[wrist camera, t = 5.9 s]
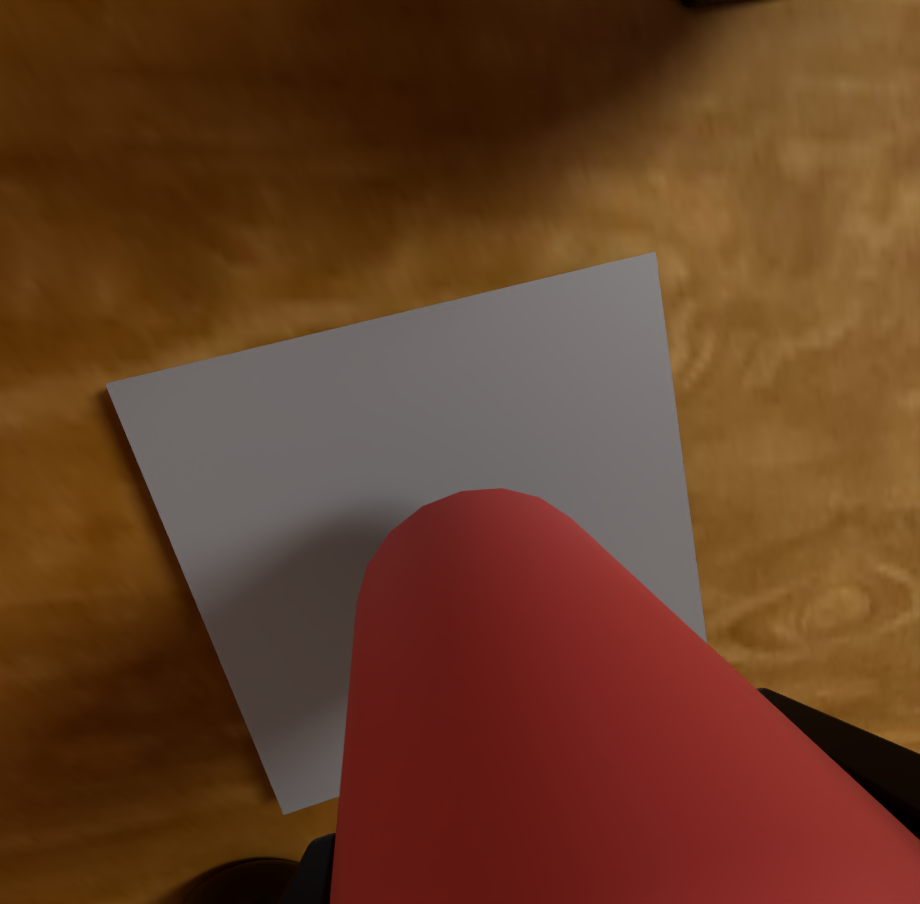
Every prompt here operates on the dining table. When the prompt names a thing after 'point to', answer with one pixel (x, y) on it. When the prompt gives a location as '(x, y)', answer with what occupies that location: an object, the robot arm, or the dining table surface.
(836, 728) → the robot arm
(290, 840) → the dining table surface
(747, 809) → the beer can
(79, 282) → the dining table surface
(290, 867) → the supplement bottle
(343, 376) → the slate board
